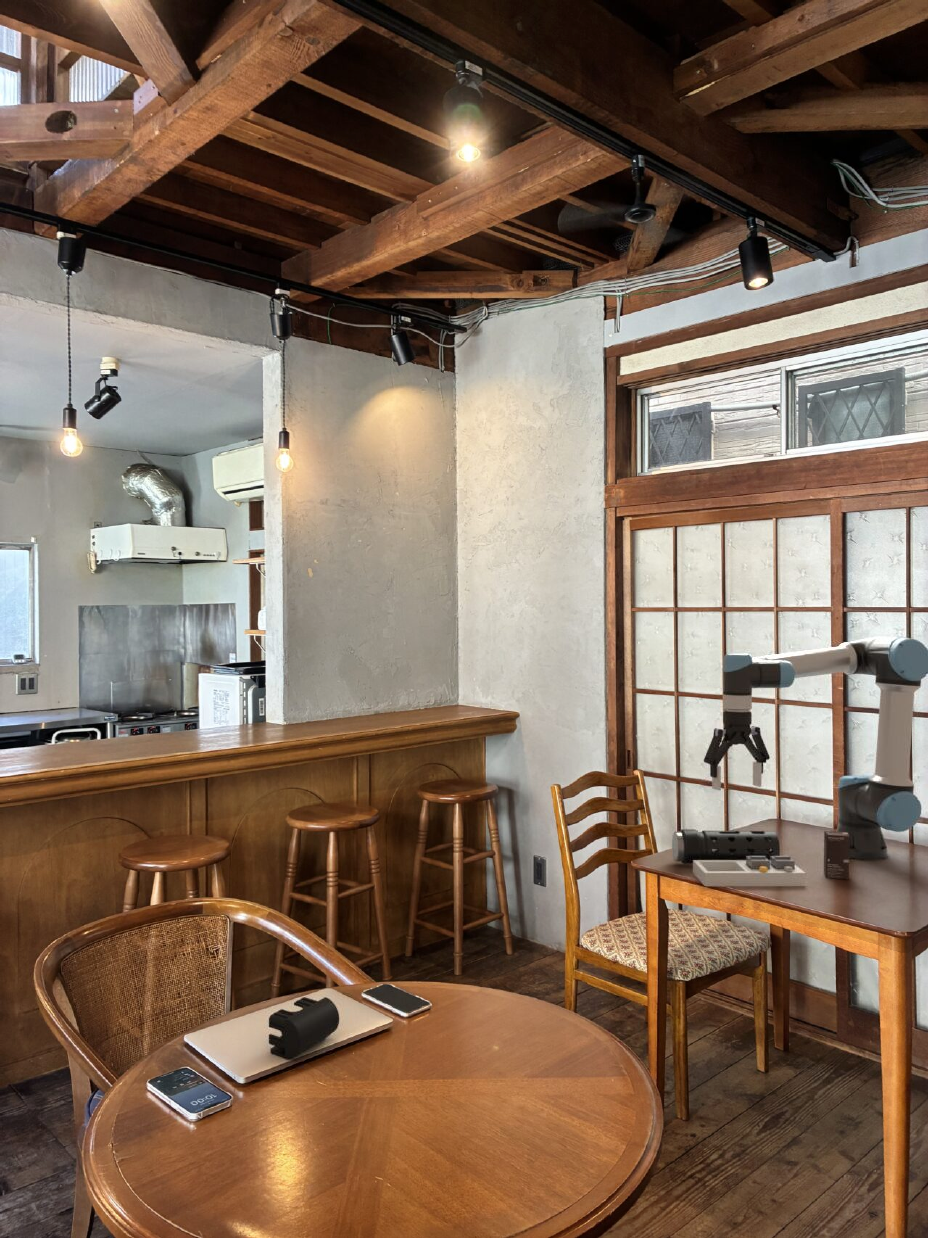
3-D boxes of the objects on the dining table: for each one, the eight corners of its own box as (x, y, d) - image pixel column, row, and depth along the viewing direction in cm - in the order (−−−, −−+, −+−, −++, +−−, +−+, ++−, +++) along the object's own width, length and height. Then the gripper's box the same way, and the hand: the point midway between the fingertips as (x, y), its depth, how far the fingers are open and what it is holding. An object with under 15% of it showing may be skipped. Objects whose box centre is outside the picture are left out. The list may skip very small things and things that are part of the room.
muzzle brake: (780, 872, 249) (780, 834, 248) (678, 871, 249) (678, 834, 249) (769, 862, 258) (769, 826, 258) (671, 861, 259) (671, 825, 259)
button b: (763, 869, 243) (763, 854, 243) (769, 874, 239) (769, 858, 239) (746, 869, 243) (746, 854, 243) (751, 874, 239) (751, 858, 238)
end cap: (299, 1066, 142) (299, 1024, 142) (266, 1054, 146) (266, 1013, 146) (340, 1041, 151) (340, 1000, 151) (308, 1030, 154) (308, 991, 154)
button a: (788, 869, 243) (788, 853, 243) (794, 874, 239) (794, 858, 239) (770, 869, 243) (770, 854, 243) (776, 874, 239) (776, 858, 239)
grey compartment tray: (788, 872, 247) (788, 856, 247) (805, 886, 235) (805, 869, 235) (692, 872, 247) (693, 856, 247) (704, 886, 235) (704, 869, 235)
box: (826, 879, 242) (826, 834, 241) (823, 874, 246) (823, 830, 246) (850, 880, 240) (850, 835, 240) (846, 875, 245) (847, 831, 244)
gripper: (764, 707, 254) (764, 782, 254) (690, 710, 244) (690, 788, 245) (783, 709, 247) (782, 786, 247) (707, 713, 238) (707, 793, 238)
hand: (736, 787), depth 246 cm, fingers open, 13 cm apart
